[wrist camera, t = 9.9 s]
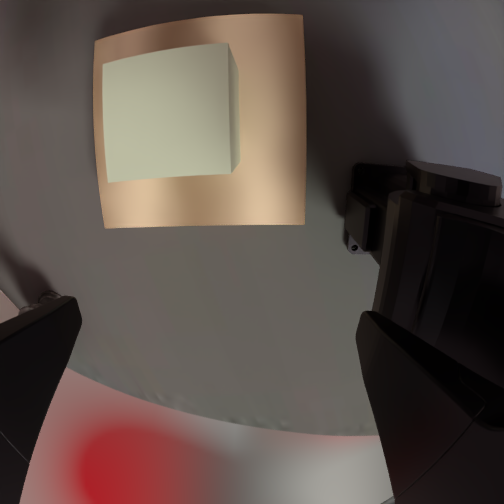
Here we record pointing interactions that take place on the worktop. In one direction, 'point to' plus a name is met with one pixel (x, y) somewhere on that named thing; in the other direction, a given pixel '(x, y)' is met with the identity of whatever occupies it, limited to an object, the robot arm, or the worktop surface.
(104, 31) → the worktop surface
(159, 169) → the sage cube
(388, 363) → the robot arm
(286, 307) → the worktop surface
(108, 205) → the oak riser block
